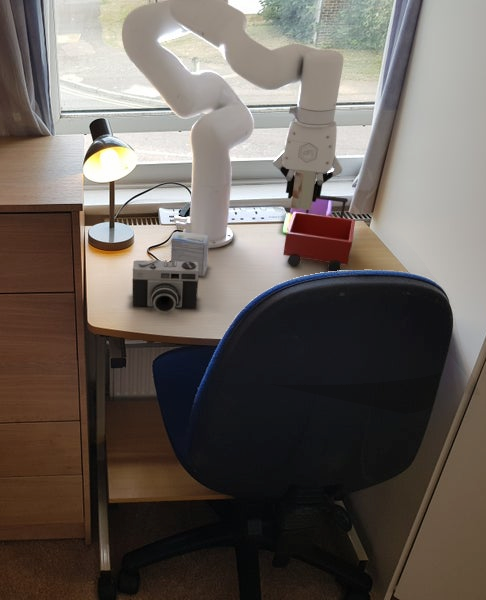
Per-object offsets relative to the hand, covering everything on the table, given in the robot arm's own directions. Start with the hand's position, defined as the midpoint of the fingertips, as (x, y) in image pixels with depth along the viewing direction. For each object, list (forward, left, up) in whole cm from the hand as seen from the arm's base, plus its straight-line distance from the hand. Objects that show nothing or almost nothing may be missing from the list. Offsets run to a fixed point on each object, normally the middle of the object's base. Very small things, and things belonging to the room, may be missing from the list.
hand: (302, 197), depth 139 cm
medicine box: (-22, -10, -18) cm, 30 cm away
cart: (+5, +7, -17) cm, 19 cm away
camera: (-23, -27, -18) cm, 40 cm away
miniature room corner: (+1, +22, -17) cm, 28 cm away
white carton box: (0, 0, -2) cm, 2 cm away
